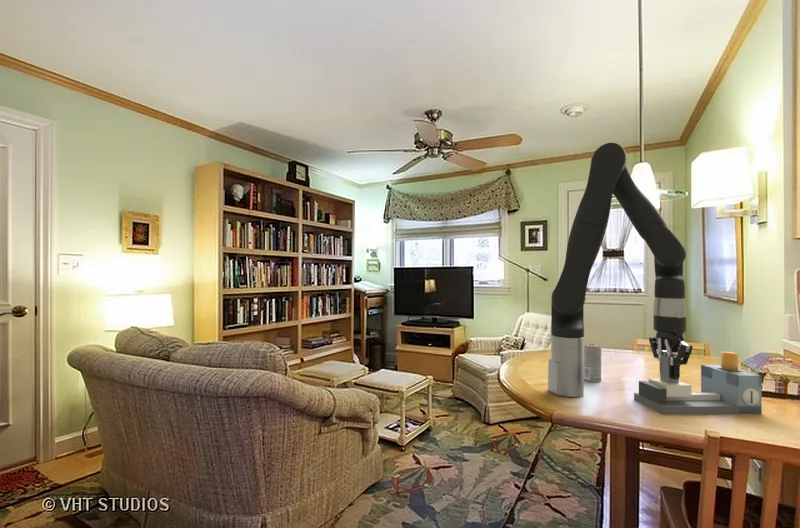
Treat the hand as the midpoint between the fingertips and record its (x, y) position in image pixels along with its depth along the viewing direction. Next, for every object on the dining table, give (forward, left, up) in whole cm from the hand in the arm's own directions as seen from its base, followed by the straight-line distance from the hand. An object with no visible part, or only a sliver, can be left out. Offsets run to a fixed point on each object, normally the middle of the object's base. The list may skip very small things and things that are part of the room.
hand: (669, 376), depth 111 cm
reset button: (+18, 0, +2) cm, 18 cm away
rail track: (+7, 0, -8) cm, 11 cm away
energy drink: (-7, +27, -8) cm, 29 cm away
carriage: (0, 0, -4) cm, 4 cm away
